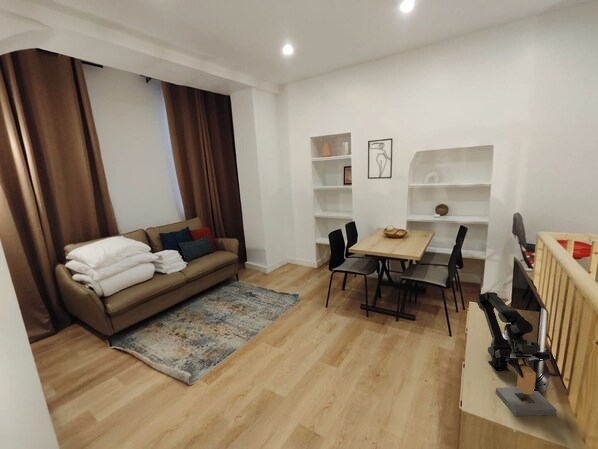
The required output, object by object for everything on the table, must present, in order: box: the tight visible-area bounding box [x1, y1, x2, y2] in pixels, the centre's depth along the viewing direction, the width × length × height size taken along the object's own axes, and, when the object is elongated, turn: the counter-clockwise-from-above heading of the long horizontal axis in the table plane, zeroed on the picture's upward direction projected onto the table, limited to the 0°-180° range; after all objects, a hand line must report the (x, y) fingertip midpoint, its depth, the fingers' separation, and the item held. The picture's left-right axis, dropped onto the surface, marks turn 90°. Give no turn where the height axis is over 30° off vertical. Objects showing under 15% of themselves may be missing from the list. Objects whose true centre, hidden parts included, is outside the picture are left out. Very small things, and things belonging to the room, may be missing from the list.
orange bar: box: [516, 365, 537, 394], centre depth 115 cm, size 4×4×10 cm
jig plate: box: [495, 386, 558, 417], centre depth 117 cm, size 12×16×2 cm
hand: (528, 378), depth 114 cm, fingers closed on orange bar, 4 cm apart
